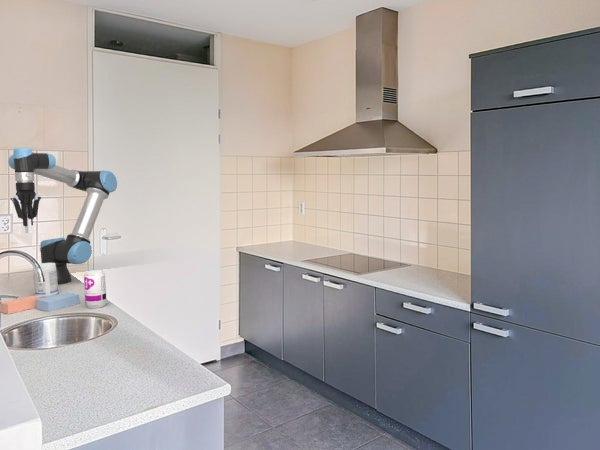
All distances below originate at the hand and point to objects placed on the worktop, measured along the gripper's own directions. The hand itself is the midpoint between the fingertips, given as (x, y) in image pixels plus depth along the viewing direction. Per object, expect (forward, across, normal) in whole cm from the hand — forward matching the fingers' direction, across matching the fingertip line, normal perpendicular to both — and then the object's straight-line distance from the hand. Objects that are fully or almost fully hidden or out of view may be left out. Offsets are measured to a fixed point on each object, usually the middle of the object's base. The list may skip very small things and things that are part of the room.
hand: (28, 233), depth 223 cm
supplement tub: (+30, +3, -6) cm, 30 cm away
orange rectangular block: (+29, -16, -20) cm, 39 cm away
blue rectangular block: (+29, -6, -30) cm, 42 cm away
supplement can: (+30, +2, -44) cm, 53 cm away
